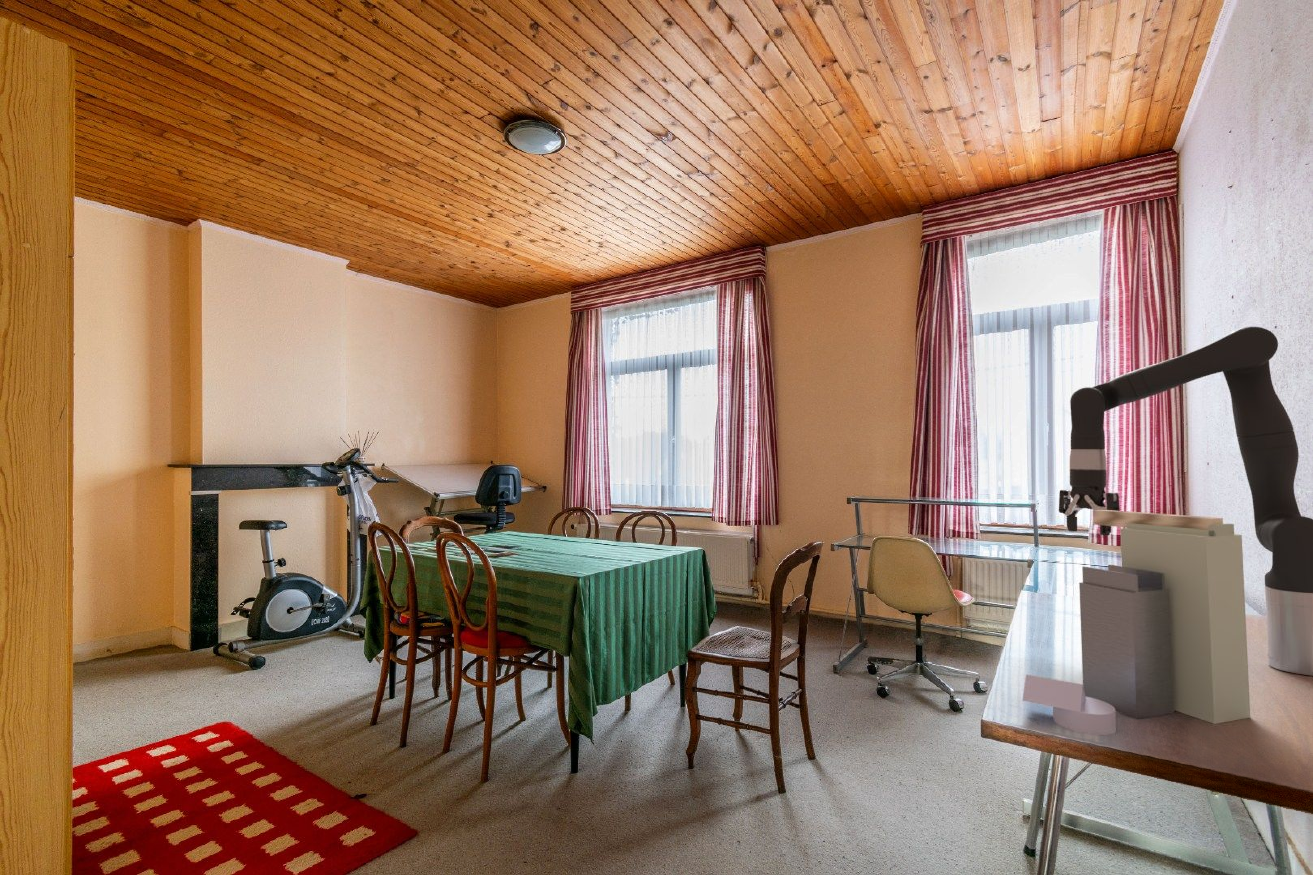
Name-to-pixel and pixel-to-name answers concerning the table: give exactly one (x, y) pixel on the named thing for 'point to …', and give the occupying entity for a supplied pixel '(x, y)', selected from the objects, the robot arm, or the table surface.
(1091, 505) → the robot arm
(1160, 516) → the rail
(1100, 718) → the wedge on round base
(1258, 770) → the table surface
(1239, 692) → the pale green tall block
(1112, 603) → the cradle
